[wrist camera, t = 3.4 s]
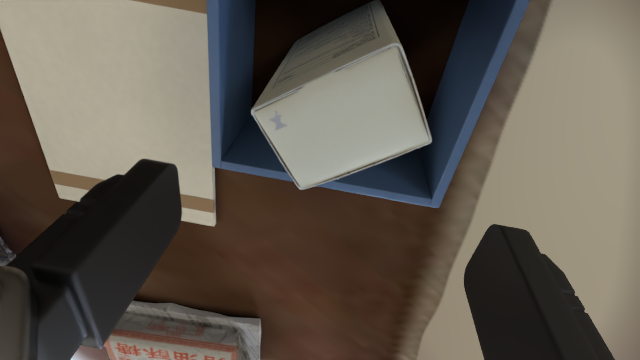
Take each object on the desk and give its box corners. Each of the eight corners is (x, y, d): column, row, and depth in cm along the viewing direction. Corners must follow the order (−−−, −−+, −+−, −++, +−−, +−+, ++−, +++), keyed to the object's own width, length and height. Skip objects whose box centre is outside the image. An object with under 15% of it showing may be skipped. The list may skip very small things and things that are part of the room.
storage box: (243, 119, 28) (211, 167, 22) (249, -92, 20) (202, -105, 14) (423, 152, 27) (438, 208, 22) (496, -48, 20) (549, -43, 14)
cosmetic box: (321, 96, 26) (293, 196, 16) (293, 40, 24) (239, 113, 14) (406, 59, 24) (437, 147, 14) (383, -7, 22) (400, 40, 12)
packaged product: (109, 375, 44) (88, 329, 38) (131, 339, 48) (114, 292, 42) (252, 399, 43) (251, 356, 38) (261, 360, 47) (262, 316, 42)
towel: (63, 194, 34) (58, 198, 34) (-33, -90, 22) (-42, -90, 21) (216, 222, 34) (214, 226, 33) (209, -46, 22) (205, -45, 21)
